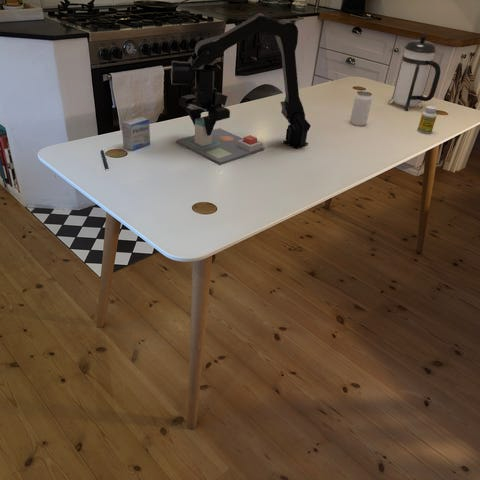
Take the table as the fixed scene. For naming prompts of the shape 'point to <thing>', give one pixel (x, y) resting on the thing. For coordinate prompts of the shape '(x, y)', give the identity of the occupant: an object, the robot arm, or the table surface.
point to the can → (361, 108)
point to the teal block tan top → (201, 133)
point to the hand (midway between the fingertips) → (203, 132)
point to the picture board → (222, 147)
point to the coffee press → (415, 74)
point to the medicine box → (136, 133)
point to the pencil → (104, 160)
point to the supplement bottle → (427, 120)
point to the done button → (250, 139)
